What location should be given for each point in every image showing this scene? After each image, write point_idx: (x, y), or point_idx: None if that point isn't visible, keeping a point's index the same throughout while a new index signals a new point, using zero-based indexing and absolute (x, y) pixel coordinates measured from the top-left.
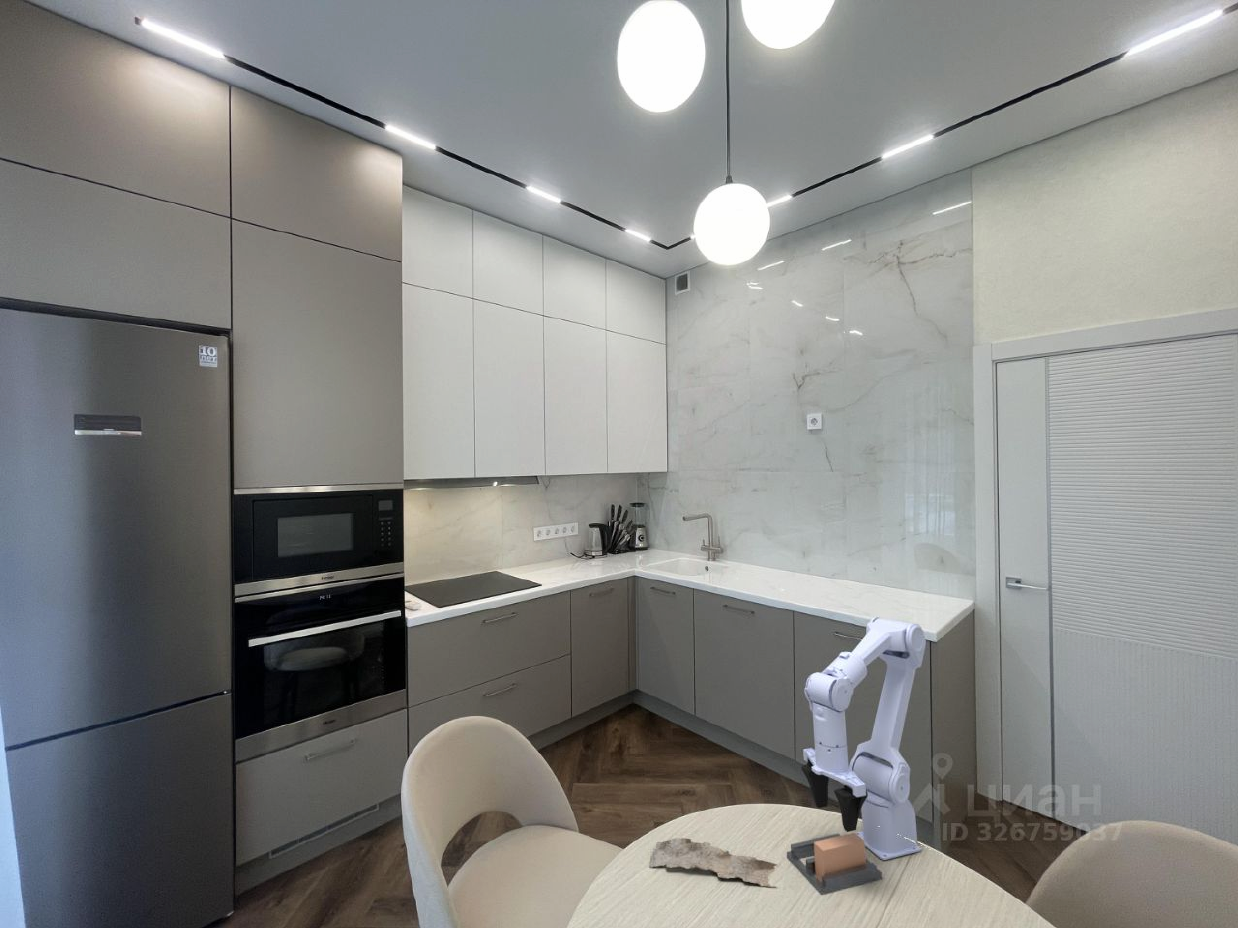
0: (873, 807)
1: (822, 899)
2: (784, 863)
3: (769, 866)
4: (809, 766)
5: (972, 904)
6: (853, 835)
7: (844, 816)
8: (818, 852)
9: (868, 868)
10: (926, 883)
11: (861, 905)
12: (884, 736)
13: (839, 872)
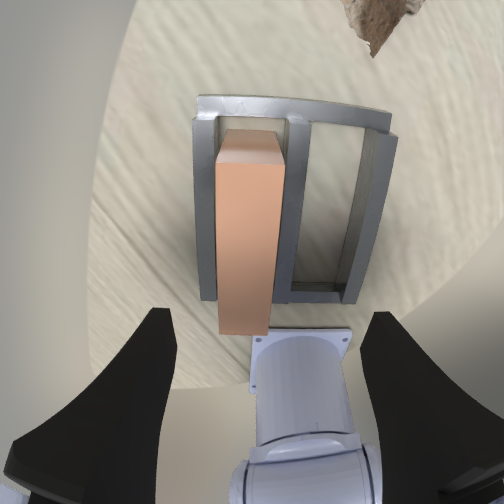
0: (290, 426)
1: (183, 85)
2: (367, 82)
3: (371, 26)
4: (485, 477)
5: None
6: (256, 325)
7: (115, 360)
8: (253, 155)
9: (199, 277)
10: None
11: (135, 178)
12: None
13: (210, 189)
